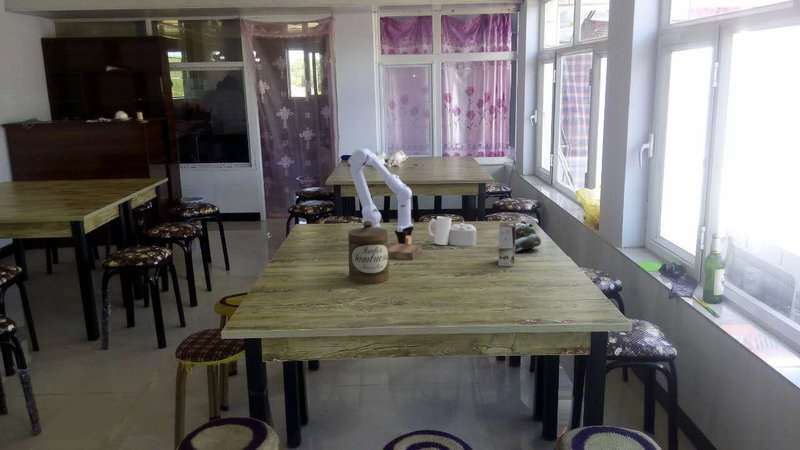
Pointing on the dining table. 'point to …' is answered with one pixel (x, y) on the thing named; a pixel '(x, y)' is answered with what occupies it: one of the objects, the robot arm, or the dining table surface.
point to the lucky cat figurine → (526, 237)
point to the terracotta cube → (407, 240)
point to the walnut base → (404, 251)
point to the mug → (441, 230)
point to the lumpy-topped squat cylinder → (462, 235)
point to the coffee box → (507, 244)
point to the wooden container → (368, 254)
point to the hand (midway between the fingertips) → (404, 244)
